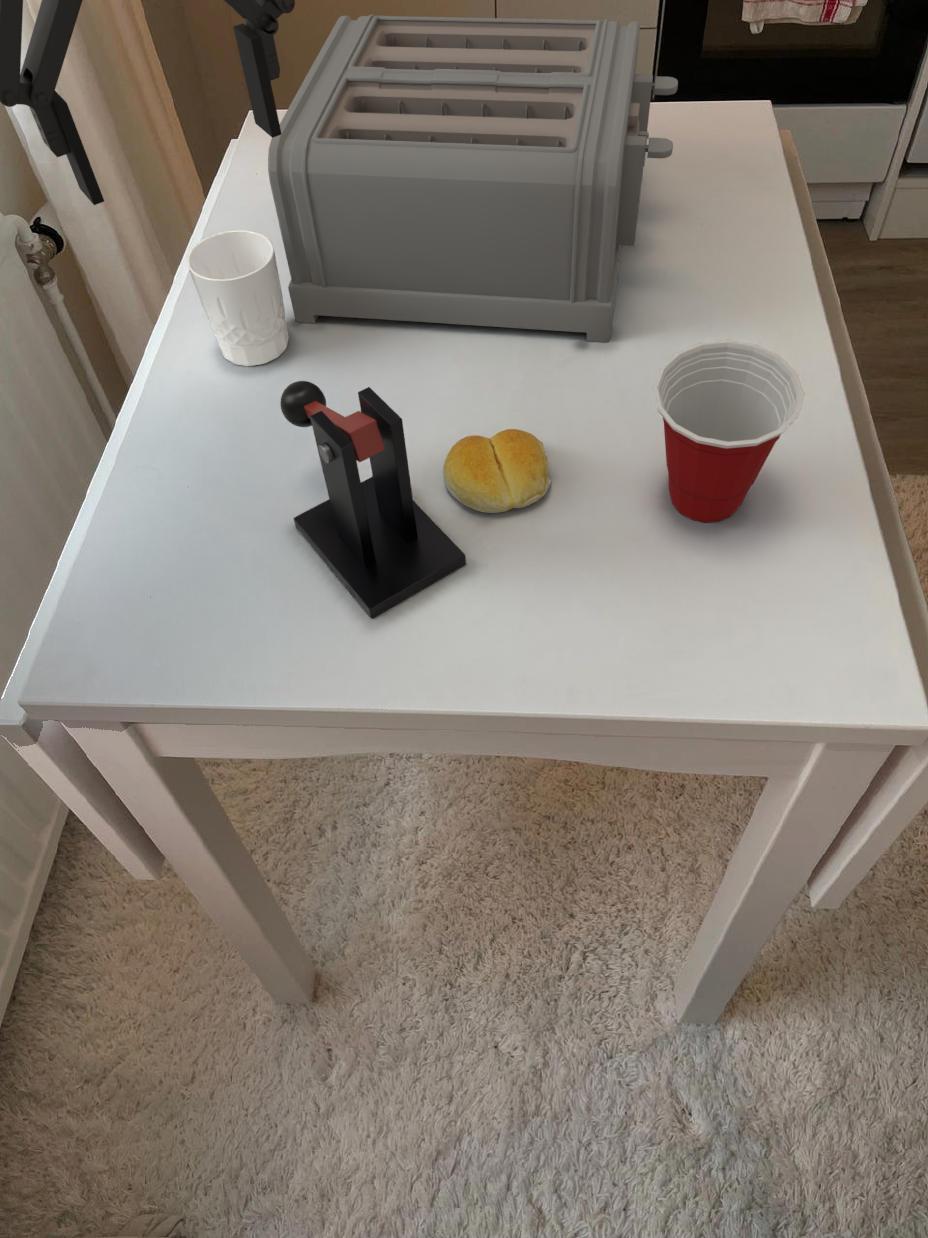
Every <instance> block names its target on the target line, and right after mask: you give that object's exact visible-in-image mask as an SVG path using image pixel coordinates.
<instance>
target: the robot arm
mask: <svg viewBox="0 0 928 1238" xmlns="http://www.w3.org/2000/svg"><path fill="white" fill-rule="evenodd" d="M222 2H223V3H225V4H226V5H227V6H228V7H229V8H231V9H232V10H233V11H234V12H235V13H236V14H238V15H239V16H240V17H241V18H242V19H244V21H245V23H243V22H242V23H239V24H236V25H234V26H232V27H233V33H234V37H235V41H236V45H237V50H238V54H239V59H240V63H241V67H242V71H243V77H244V81H245V85H246V89H247V93H248V97H249V102H250V107H251V109H252V115H253V119H254V123H255V124H256V125H257V127H259V128H260V129H261V130H262V131H264V132H265V133H266V134H267V135H268V136H269V137H271V139H272V138H273V137H276V136H279V135H281V129H280V120H279V115H278V111H277V110H278V109H277V106H276V101H275V95H274V91H273V87H272V83H271V82H272V81H275V80H277V79H279V78H280V74H281V67H280V62H279V57H278V51H277V47H276V41H275V37H274V36H275V35H276V34H277V33H278V30H279V26H280V25H279V21H278V18H280V17H281V16H282V15H283V14H286V15H287V14H291V13H292V12H293V10H294V8H295V6H296V0H222ZM82 4H83V0H41V2H40V5H39V9H38V12H37V16H36V19H35V21H34V22H35V23H34V26H33V30H32V33H31V36H30V40H29V43H28V46H27V50H26V54H25V57H24V60H23V64H22V62H21V61H22V38H23V37H22V35H23V17H24V16H23V13H24V0H0V103H1V104H2V105H3V106H5V107H8V108H12V107H15V106H16V105H22V106H23V105H24V106H26V107H29V110H30V112H31V115H32V117H33V119H34V121H35V122H34V123H35V124H36V127H37V129H38V131H39V134H40V136H41V139H42V141H43V143H44V144H45V146H46V147H47V148H48V149H49V151H51V152H52V154H53V155H54V156H55V157H56V158H60V157H64V156H66V157H67V160H68V162H69V166H70V168H71V170H72V172H73V173H72V174H73V175H74V177H75V180H76V183H77V185H78V188H79V189H80V191H81V192H82V193H83V194H84V196H86V198H87V199H88V200H89V201H90V203H91V204H92V205H93V206H96V205H98V204H102V203H105V199H104V196H103V194H102V190H101V188H100V186H99V183H98V180H97V178H96V176H95V172H94V170H93V168H92V165H91V162H90V160H89V157H88V154H87V152H86V149H85V146H84V144H83V141H82V139H81V136H80V134H79V130H78V128H77V126H76V123H75V120H74V118H73V114H72V112H71V110H70V108H69V105H68V103H67V101H66V100H65V99H64V98H63V97H62V96H61V95H60V94H59V93H58V91H56V88H57V84H58V81H59V78H60V75H61V71H62V69H63V66H64V61H65V59H66V55H67V52H68V50H69V49H68V48H69V45H70V42H71V39H72V36H73V34H74V33H73V32H74V29H75V26H76V23H77V21H78V15H79V13H80V10H81V7H82ZM21 65H22V67H21Z"/></svg>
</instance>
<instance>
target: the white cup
mask: <svg viewBox="0 0 928 1238" xmlns="http://www.w3.org/2000/svg"><path fill="white" fill-rule="evenodd" d="M277 263H278V262H277V257H276V254H275V247H274V244H273V243H272V241H271V240H270V238H268V237H267V236H266V235H264V234H262V233H259V232H256V231H252V230H246V229H234V230H227V231H221V232H218V233H214V234H211V235H209V236H207V237H206V238H204V239H202V240H200V241H199V242H197V243H196V244H194V246H193V247H192V248H191V249H190V251H189V252H188V254H187V258H186V264H187V268H188V271H189V273H190V275H191V279H192V281H193V284H194V286H195V289H196V292H197V295H198V298H199V300H200V304H201V306H202V308H203V310H204V313H205V316H206V318H207V321H208V323H209V326H210V328H211V331H212V333H213V334H214V336H215V339H216V341H217V345H218V346H219V349H220V352H221V353H222V356H223V358H224V359H225V360H227V361H229V362H230V363H232V364H234V365H238V366H244V367H254V366H260V365H265V364H267V363H269V362H271V361H273V360H275V359H277V358H279V357H280V356H281V355H282V354H283V353H284V352H285V351H286V350H287V348H288V344H289V338H290V336H289V331H288V325H287V322H286V310H285V305H284V297H283V291H282V286H281V281H280V280H281V279H280V275H279V269H278V265H277Z"/></svg>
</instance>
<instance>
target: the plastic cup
mask: <svg viewBox="0 0 928 1238" xmlns="http://www.w3.org/2000/svg"><path fill="white" fill-rule="evenodd" d="M652 390H653V396H654V400H655V404H656V405H655V406H656V409H657V412H658V414H659V415H660V416H661V417H662V422H663V429H664V430H663V431H664V445H665V462H666V468H667V474H668V475H667V476H668V478H667V479H668V493H669V496H670V500H671V503H672V505H673V507H674V508H675V509H676V510H677V511H678V513H679V514H680V515H683V516H684V517H686V518H687V519H689V520H691V521H697V522H701V523H719V522H721V521H724V520H726V519H729V518H731V516H732V515H734V513H735V512H736V511H737V510H738V509H739V507H740V506H741V505H742V504H743V502H744V500H745V498H746V496H747V494H748V492H749V491H750V489H751V487H752V486H753V485H754V484H755V482H756V480H757V478H758V476H759V474H760V472H761V470H762V469H763V468H764V465H765V463H766V461H767V459H768V457H769V456H770V453H771V452H772V450H773V448H774V446H775V444H776V442H778V440H779V439H780V437H781V436H782V434H784V432H785V431H786V430H787V429H788V428H789V427H790V426H791V425H792V424H793V423H794V422H795V421H796V420H797V419H798V418H799V416H800V415H801V410H802V405H803V402H804V400H805V399H804V398H805V394H806V393H805V390H804V387H803V384H802V381H801V378H800V375H799V372H797V370H796V369H795V368H793V367H792V366H791V364H790V363H789V362H788V361H787V360H785V358H784V357H783V356H781V354H778V353H776V352H774V351H772V350H769V349H767V348H766V347H764V346H761V345H759V344H758V343H751V342H745V341H739V340H733V339H721V340H719V339H717V340H711V341H710V340H709V341H699V342H697V343H695V344H693V345H690V346H688V347H685V348H683V349H681V350H678V351H676V352H675V353H674V354H672V356H671V357H669V359H667V360H666V361H665V362H664V363H663V364H662V365H661V366H660V367H659V368H658V372H657V374H656V377H655V380H654V383H653V385H652Z"/></svg>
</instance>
